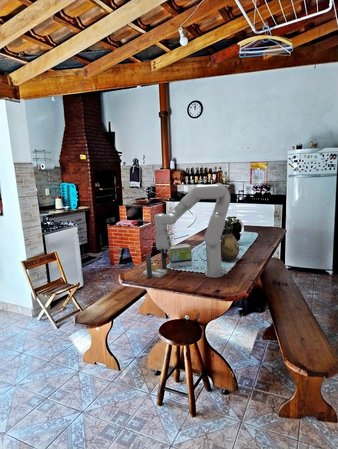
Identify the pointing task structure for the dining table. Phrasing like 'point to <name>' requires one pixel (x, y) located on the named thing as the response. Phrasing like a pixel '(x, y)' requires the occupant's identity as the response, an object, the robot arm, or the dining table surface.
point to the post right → (163, 263)
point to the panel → (157, 272)
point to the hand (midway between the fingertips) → (165, 258)
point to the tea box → (180, 255)
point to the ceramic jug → (229, 245)
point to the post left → (149, 266)
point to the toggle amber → (154, 266)
